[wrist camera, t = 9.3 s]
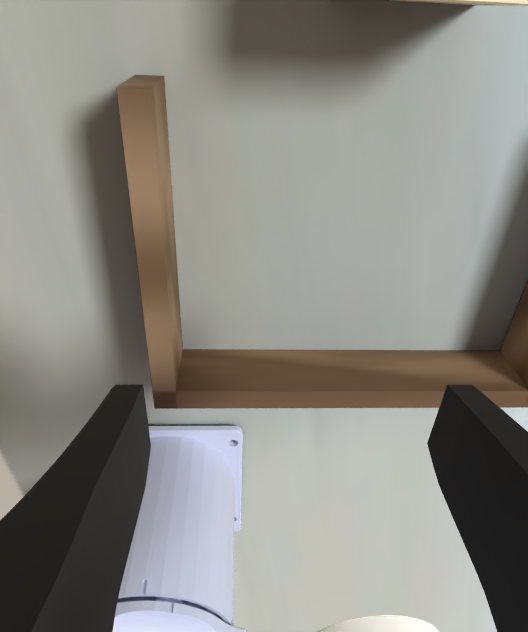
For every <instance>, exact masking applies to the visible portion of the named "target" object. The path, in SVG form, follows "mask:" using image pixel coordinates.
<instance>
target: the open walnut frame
mask: <svg viewBox="0 0 528 632" xmlns="http://www.w3.org/2000/svg"><path fill="white" fill-rule="evenodd" d="M117 96H118V104H119V113H120V121H121V130H122V138H123V146H124V155H125V163H126V172H127V180H128V188H129V197H130V205H131V214H132V222H133V230H134V239H135V247H136V256H137V264H138V272H139V281H140V289H141V298H142V306H143V314H144V323H145V331H146V340H147V348H148V357H149V365H150V373H151V382H152V390H153V399H154V407H155V408H440V405H441V402H442V399H443V396H444V393H445V390H446V387H447V385H473V386H474V387H476V388H477V389H478V390H479V391H481V392H482V393H483V394H484V395H485V396H486V397H488V398H489V399H490V400H491V401H492V402H494V403H495V404H496V405H497V406H498V407H528V281H527V284H526V286H525V289H524V292H523V294H522V297H521V299H520V302H519V304H518V307H517V309H516V312H515V314H514V317H513V319H512V322H511V324H510V327H509V329H508V332H507V335H506V337H505V340H504V342H503V345H502V347H501V350H500V351H379V350H183V347H182V333H181V318H180V303H179V288H178V274H177V259H176V244H175V230H174V215H173V200H172V185H171V171H170V156H169V141H168V127H167V112H166V97H165V82H164V76H148V75H134V76H133V77H131V78H130V79H129V80H127V81H126V82H124V83H123V84H121V85H120V86H119V87H117Z"/></svg>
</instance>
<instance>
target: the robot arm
mask: <svg viewBox="0 0 528 632" xmlns="http://www.w3.org/2000/svg"><path fill="white" fill-rule="evenodd" d="M242 437H243V434H242V429H241V428H240V427H238V426H148V419H147V412H146V404H145V397H144V389H143V385H115V386H114V387H113V388H112V389H111V390H110V392H109V393H108V395H107V396H106V397H105V399H104V400H103V402H102V403H101V404H100V406H99V407H98V409H97V410H96V411H95V413H94V414H93V415H92V417H91V418H90V419H89V421H88V422H87V423H86V425H85V426H84V427H83V429H82V430H81V431H80V432H79V434H78V435H77V436H76V437H75V439H74V440H73V441H72V442H71V443H70V445H69V446H68V447H67V448H66V450H65V451H64V452H63V453H62V455H61V456H60V457H59V458H58V459H57V460H56V462H55V463H54V464H53V465H52V466H51V467H50V468H49V470H48V471H47V472H46V473H45V474H44V475H43V476H42V477H41V478H40V480H39V481H38V482H37V483H36V484H35V485H34V486H33V487H32V489H31V490H30V491H29V492H28V493H27V494H26V495H25V496H24V497H23V498H22V499H21V500H20V501H19V502H18V503H17V504H16V505H15V507H13V508H12V509H11V510H10V512H8V513H7V515H6V516H4V518H2V519H1V520H0V632H247V630H246V629H244V628H238V627H234V533H235V532H238V531H239V530H240V528H241V483H242ZM231 440H236V441H231ZM427 444H428V448H429V451H430V455H431V459H432V463H433V466H434V470H435V473H436V476H437V479H438V483H439V485H440V488H441V490H442V493H443V495H444V498H445V500H446V502H447V505H448V507H449V509H450V512H451V514H452V516H453V519H454V521H455V523H456V526H457V528H458V530H459V533H460V535H461V537H462V540H463V542H464V544H465V547H466V549H467V551H468V553H469V556H470V558H471V560H472V563H473V565H474V567H475V570H476V572H477V574H478V577H479V579H480V582H481V585H482V587H483V590H484V592H485V595H486V598H487V601H488V604H489V607H490V610H491V613H492V616H493V620H494V623H495V626H496V629H497V632H528V432H527V431H526V430H525V429H524V428H522V427H521V426H520V425H519V424H518V423H517V422H516V421H514V420H513V419H512V418H511V417H510V416H509V415H507V414H506V413H505V412H504V411H503V410H502V409H500V408H499V407H498V406H497V405H496V404H495V403H494V402H492V401H491V400H490V399H489V398H488V397H486V396H485V395H484V394H483V393H482V392H481V391H479V390H478V389H477V388H476V387H474V386H473V385H447V387H446V390H445V393H444V396H443V399H442V402H441V405H440V408H439V411H438V414H437V417H436V419H435V422H434V425H433V428H432V431H431V434H430V437H429V440H428V443H427Z"/></svg>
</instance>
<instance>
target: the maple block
mask: <svg viewBox="0 0 528 632" xmlns="http://www.w3.org/2000/svg"><path fill="white" fill-rule="evenodd" d="M391 1H409V2H427V3H445V4H463V5H528V0H391Z"/></svg>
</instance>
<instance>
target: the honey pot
mask: <svg viewBox="0 0 528 632" xmlns="http://www.w3.org/2000/svg"><path fill="white" fill-rule="evenodd" d="M319 632H439V631H438V630H437V629H436V628H435V627H434V626H433V625H432V624H429V623H427V622H425V621H423V620H421V619H416V618H411V617H407V616H394V615H380V616H367V617H361V618H356V619H351V620H346V621H343V622H341V623H338V624H335V625H332V626H329V627H327V628H325V629H323V630H321V631H319Z"/></svg>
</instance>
